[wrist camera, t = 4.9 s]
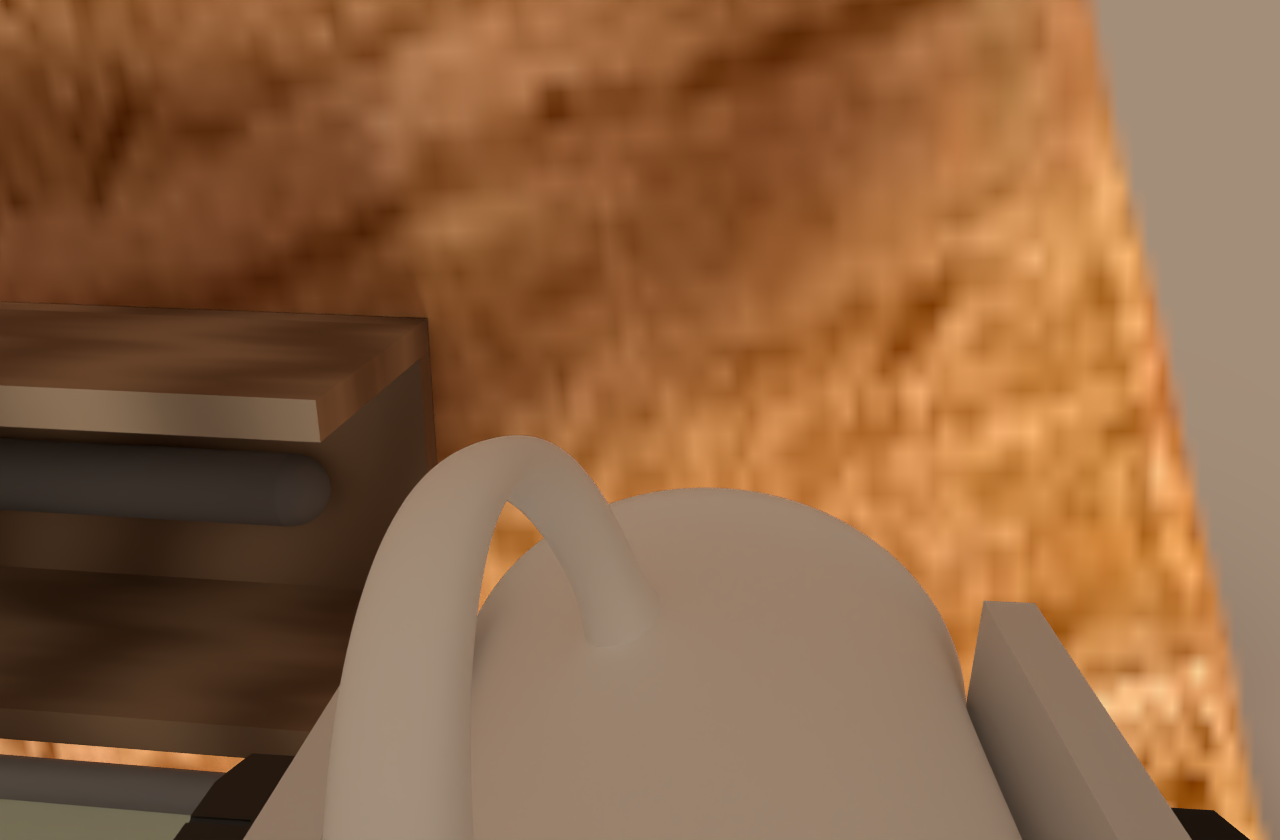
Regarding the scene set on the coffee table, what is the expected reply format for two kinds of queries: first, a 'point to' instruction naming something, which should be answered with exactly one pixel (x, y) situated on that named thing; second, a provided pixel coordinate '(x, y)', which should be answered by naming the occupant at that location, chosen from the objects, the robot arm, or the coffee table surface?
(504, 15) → the coffee table surface
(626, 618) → the mug
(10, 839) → the lid
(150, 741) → the cable box
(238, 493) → the dark grey rod
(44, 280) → the coffee table surface
